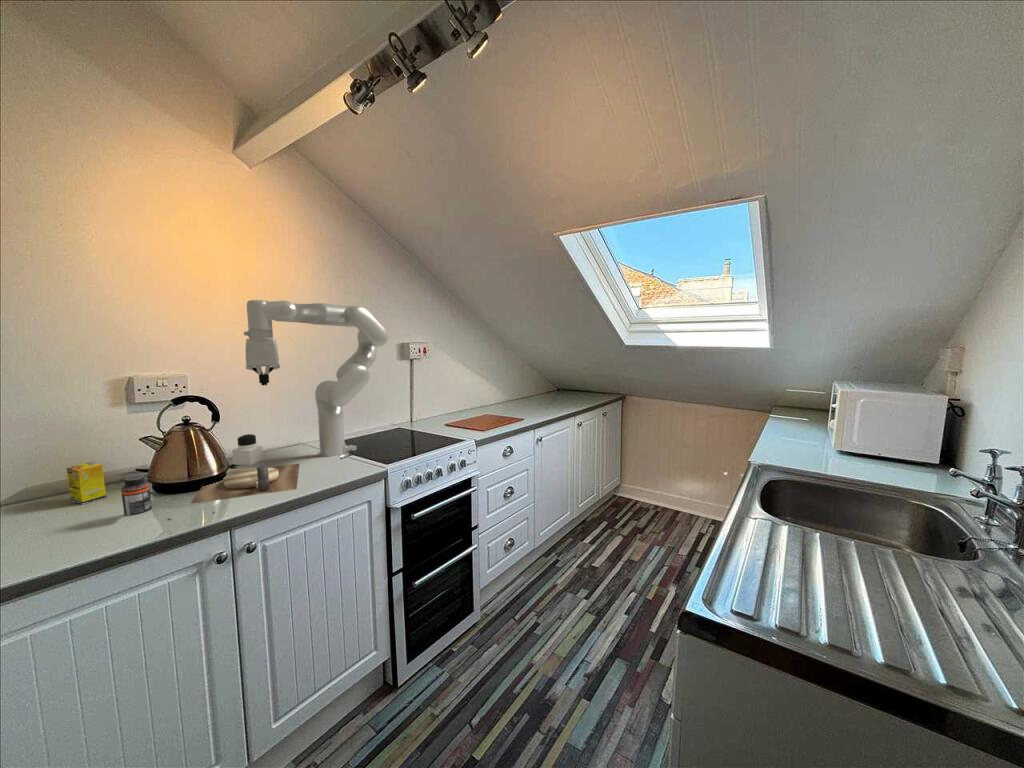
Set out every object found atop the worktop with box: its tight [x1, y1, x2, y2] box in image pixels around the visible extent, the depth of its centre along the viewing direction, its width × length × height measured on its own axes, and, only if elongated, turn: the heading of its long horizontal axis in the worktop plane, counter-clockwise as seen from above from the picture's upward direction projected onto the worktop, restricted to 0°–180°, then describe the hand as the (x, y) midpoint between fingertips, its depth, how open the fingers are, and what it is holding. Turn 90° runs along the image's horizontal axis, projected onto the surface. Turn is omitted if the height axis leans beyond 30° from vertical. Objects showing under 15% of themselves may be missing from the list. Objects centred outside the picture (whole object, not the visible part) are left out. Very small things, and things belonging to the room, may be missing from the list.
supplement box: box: [66, 461, 107, 505], centre depth 129 cm, size 6×6×11 cm
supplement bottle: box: [120, 474, 153, 516], centre depth 118 cm, size 6×6×11 cm
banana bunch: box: [223, 465, 279, 491], centre depth 140 cm, size 22×16×7 cm
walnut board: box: [190, 463, 300, 504], centre depth 142 cm, size 28×28×2 cm
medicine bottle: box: [231, 433, 264, 466], centre depth 162 cm, size 7×7×12 cm
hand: (264, 385), depth 154 cm, fingers closed
